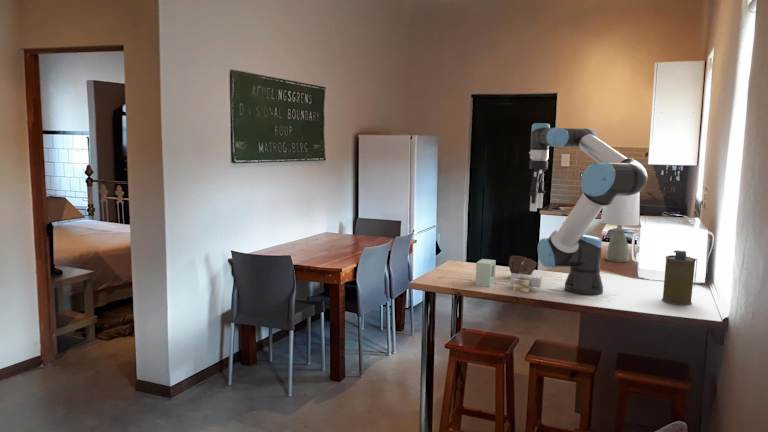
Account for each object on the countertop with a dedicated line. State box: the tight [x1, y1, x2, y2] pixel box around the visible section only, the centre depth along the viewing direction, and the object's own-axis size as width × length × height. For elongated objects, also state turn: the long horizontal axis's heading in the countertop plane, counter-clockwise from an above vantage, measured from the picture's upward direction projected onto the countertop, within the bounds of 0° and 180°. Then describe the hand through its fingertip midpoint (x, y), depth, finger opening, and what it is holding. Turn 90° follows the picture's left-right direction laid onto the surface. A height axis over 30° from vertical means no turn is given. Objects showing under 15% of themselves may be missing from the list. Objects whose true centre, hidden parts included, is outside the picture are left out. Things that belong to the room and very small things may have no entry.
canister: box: [661, 250, 698, 306], centre depth 231 cm, size 11×10×20 cm
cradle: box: [513, 279, 533, 293], centre depth 247 cm, size 6×11×4 cm, turn 156°
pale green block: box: [475, 258, 497, 288], centre depth 254 cm, size 6×9×10 cm, turn 156°
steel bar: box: [509, 273, 543, 289], centre depth 247 cm, size 12×4×4 cm, turn 66°
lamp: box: [600, 191, 641, 263], centre depth 309 cm, size 19×19×37 cm
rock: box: [507, 255, 538, 275], centre depth 265 cm, size 12×10×10 cm
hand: (536, 209), depth 256 cm, fingers open, 13 cm apart
